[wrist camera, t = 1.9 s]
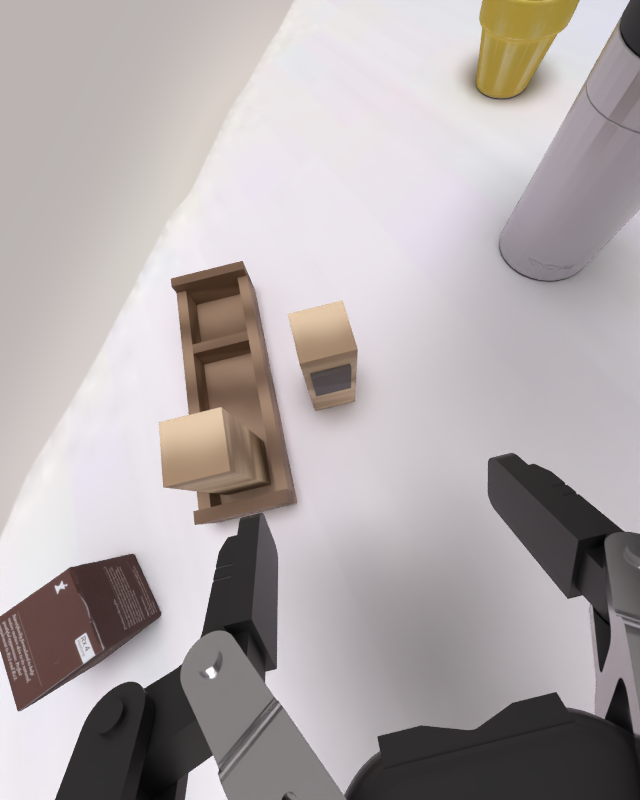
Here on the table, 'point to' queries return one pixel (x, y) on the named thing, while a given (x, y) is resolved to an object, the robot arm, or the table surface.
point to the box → (73, 625)
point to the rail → (225, 403)
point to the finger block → (326, 353)
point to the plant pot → (517, 41)
